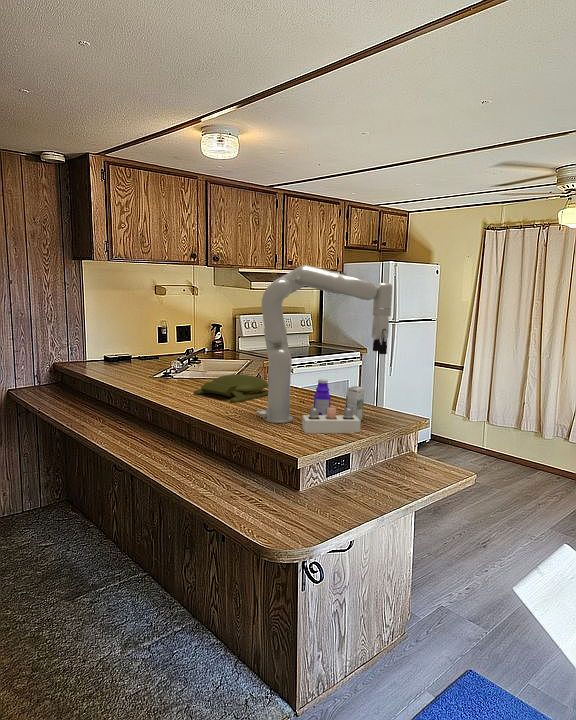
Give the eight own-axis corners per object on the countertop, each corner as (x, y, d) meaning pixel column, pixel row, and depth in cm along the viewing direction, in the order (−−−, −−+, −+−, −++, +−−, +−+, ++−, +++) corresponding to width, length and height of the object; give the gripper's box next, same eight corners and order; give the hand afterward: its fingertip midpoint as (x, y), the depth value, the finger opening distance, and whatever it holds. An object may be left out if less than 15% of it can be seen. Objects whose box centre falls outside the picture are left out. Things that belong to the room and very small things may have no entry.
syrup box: (351, 417, 237) (353, 385, 235) (363, 420, 234) (364, 387, 231) (344, 420, 233) (345, 387, 231) (356, 422, 229) (357, 389, 227)
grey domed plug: (344, 422, 214) (345, 409, 214) (342, 420, 218) (343, 407, 217) (353, 422, 215) (354, 409, 214) (351, 420, 218) (352, 407, 218)
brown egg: (327, 422, 214) (327, 409, 213) (325, 420, 217) (326, 407, 216) (336, 422, 214) (336, 409, 213) (334, 420, 218) (335, 407, 217)
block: (305, 433, 211) (305, 420, 210) (302, 427, 220) (302, 415, 219) (359, 433, 213) (360, 420, 212) (355, 427, 222) (355, 415, 221)
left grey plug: (309, 422, 213) (310, 409, 212) (308, 420, 217) (309, 407, 216) (318, 422, 213) (319, 409, 213) (317, 420, 217) (318, 407, 216)
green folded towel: (235, 404, 259) (235, 384, 257) (191, 395, 277) (191, 376, 275) (279, 393, 286) (280, 375, 285) (237, 385, 305) (237, 368, 303)
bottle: (328, 417, 237) (330, 378, 234) (330, 420, 231) (331, 381, 229) (312, 417, 237) (313, 378, 234) (313, 420, 231) (314, 380, 228)
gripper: (368, 311, 234) (365, 349, 237) (378, 313, 217) (376, 355, 220) (384, 311, 235) (382, 350, 238) (396, 313, 218) (394, 355, 220)
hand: (379, 352), depth 229 cm, fingers open, 9 cm apart
